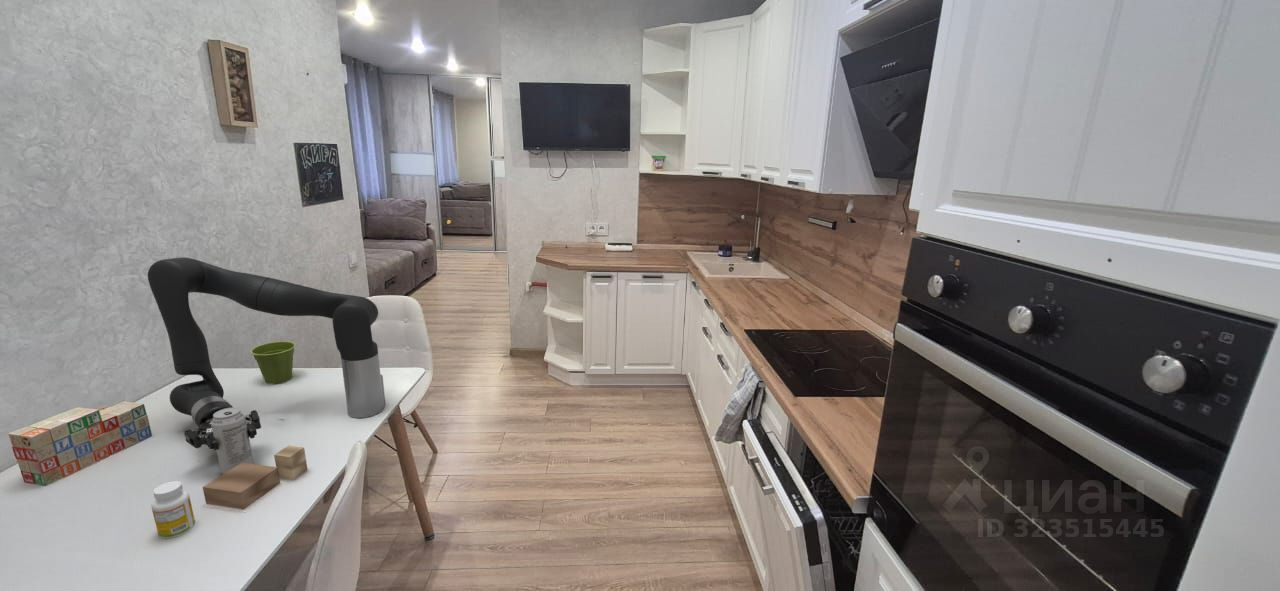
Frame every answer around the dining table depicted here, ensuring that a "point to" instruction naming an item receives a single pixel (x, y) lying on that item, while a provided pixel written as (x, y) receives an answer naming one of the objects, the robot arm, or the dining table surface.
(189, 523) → the supplement bottle
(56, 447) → the stack of blocks
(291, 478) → the oak post
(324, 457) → the dining table surface
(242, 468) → the base block
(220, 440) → the energy drink can
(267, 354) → the plant pot
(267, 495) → the blueprint board
